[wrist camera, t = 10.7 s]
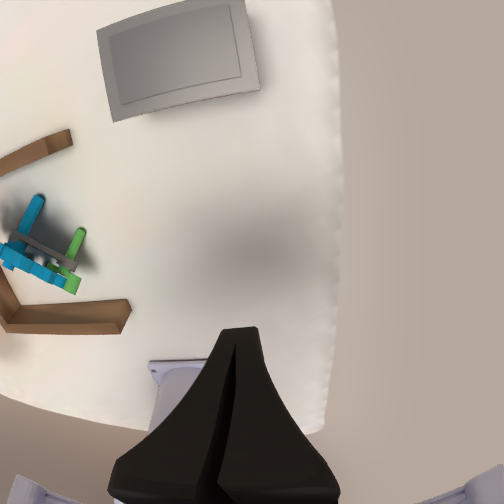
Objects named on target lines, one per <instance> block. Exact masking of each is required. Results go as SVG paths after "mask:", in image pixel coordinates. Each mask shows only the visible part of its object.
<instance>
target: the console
mask: <svg viewBox="0 0 504 504" xmlns="http://www.w3.org/2000/svg"><path fill="white" fill-rule="evenodd" d="M96 32H97V39H98V46H99V52H100V59H101V65H102V70H103V76H104V81H105V87H106V92H107V97H108V102H109V106H110V111H111V116H112V120H113V123H114V122H117V121H121V120H124V119H128V118H131V117H135V116H139V115H143V114H146V113H150V112H154V111H158V110H161V109H165V108H169V107H174V106H178V105H182V104H186V103H191V102H195V101H200V100H205V99H210V98H215V97H221V96H226V95H232V94H238V93H244V92H251V91H258V90H260V85H259V79H258V73H257V67H256V61H255V55H254V49H253V44H252V38H251V33H250V27H249V22H248V16H247V11H246V6H245V1H244V0H185V1H181V2H178V3H174V4H170V5H167V6H163V7H160V8H156V9H153V10H150V11H147V12H144V13H141V14H138V15H135V16H132V17H129V18H127V19H124V20H121V21H119V22H116V23H114V24H111V25H109V26H106V27H104V28H101V29H99V30H97V31H96Z"/></svg>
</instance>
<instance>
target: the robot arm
mask: <svg viewBox="0 0 504 504" xmlns="http://www.w3.org/2000/svg"><path fill="white" fill-rule="evenodd" d="M147 367H148V369H149V371H150V372H151V374H152V376H153V377H154V379H155V381H156V382H157V384H158V386H159V387H160V388H159V391H158V395H157V399H156V403H155V407H154V410H153V414H152V418H151V422H150V426H149V430H148V435H147V437H145V438H144V439H143V440H142V441H141V442H140V443H139V444H137V445H136V446H135V447H133V448H132V449H131V450H129V451H128V452H127V453H125V454H124V455H123V456H121V457H120V458H118V459H117V460H116V463H115V465H114V467H113V470H112V473H111V477H110V481H109V486H108V489H107V491H108V492H109V494H110V495H111V496H112V497H114V498H115V499H114V504H338V498H339V496H340V487H339V485H338V482H337V480H336V479H335V476H334V475H333V473H332V471H331V470H330V468H329V467H328V465H327V462H326V461H325V460H324V458H323V457H322V456H321V455H320V454H319V453H318V452H317V450H316V449H315V448H314V447H313V446H312V444H311V443H310V442H309V441H308V439H307V438H306V437H305V435H304V434H303V433H302V431H301V430H300V428H299V427H298V425H297V424H296V423H295V421H294V420H293V418H292V417H291V415H290V414H289V412H288V410H287V409H286V407H285V405H284V404H283V402H282V400H281V398H280V396H279V394H278V392H277V390H276V388H275V386H274V384H273V382H272V380H271V378H270V375H269V373H268V371H267V368H266V365H265V362H264V356H263V352H262V347H261V342H260V337H259V332H258V328H256V327H255V326H253V327H243V328H232V329H223V330H222V331H221V333H220V335H219V337H218V340H217V342H216V344H215V346H214V348H213V350H212V352H211V354H210V356H209V357H208V359H207V360H202V361H176V362H149V363H148V366H147ZM7 504H84V503H81V502H78V501H75V500H72V499H69V498H66V497H64V496H61V495H58V494H56V493H53V492H50V491H48V490H46V489H45V488H44V487H43V486H41V485H39V484H38V483H36V482H34V481H32V480H30V479H28V478H25V477H23V476H21V475H19V474H17V475H16V477H15V480H14V483H13V486H12V489H11V491H10V495H9V498H8V501H7ZM417 504H504V467H503V465H502V464H499V465H497V466H495V467H493V468H491V469H489V470H487V471H485V472H483V473H481V474H479V475H477V476H476V477H474V478H472V479H470V480H469V481H468V482H467V483H465V485H464V486H461V487H459V488H457V489H454V490H452V491H450V492H447V493H445V494H442V495H439V496H436V497H434V498H431V499H428V500H425V501H423V502H419V503H417Z"/></svg>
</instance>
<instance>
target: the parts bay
mask: <svg viewBox="0 0 504 504" xmlns="http://www.w3.org/2000/svg"><path fill="white" fill-rule="evenodd" d="M71 145H73V144H72V140H71V136H70V132H69V129H67V130H64V131H61V132H58V133H55V134H52V135H49V136H46V137H44V138H41V139H39V140H37V141H35V142H33V143H31V144H29V145H27V146H25V147H23V148H21V149H19V150H17V151H15V152H13V153H11V154H9V155H7V156H5V157H3V158H1V159H0V177H1V176H3V175H5V174H7V173H9V172H11V171H14V170H16V169H18V168H20V167H22V166H25V165H27V164H29V163H31V162H34V161H36V160H38V159H41V158H43V157H46V156H48V155H50V154H53V153H55V152H57V151H59V150H62V149H64V148H66V147H69V146H71ZM131 311H132V309H131V307H130V305H129V303H128V301H127V299H120V300H107V301H94V302H79V303H64V304H47V305H29V306H20V304H19V302H18V300H17V298H16V297H15V295H14V293H13V291H12V289H11V287H10V285H9V283H8V281H7V279H6V277H5V275H4V273H3V271H2V269H1V267H0V324H1V325H2V327H3V328H4V330H5V332H6V333H22V334H55V335H109V334H121V332H122V330H123V328H124V326H125V323H126V321H127V319H128V317H129V315H130V313H131Z"/></svg>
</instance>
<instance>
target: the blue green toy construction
mask: <svg viewBox="0 0 504 504" xmlns="http://www.w3.org/2000/svg"><path fill="white" fill-rule="evenodd" d="M43 203H44V200H43V199H42V198H41V197H39V196H37V195H34V197H33V199H32V200H31V202H30V204H29V206H28V208H27V210H26V212H25V214H24V216H23V218H22V221H21V223H20V225H19V227H18V229H17V231H16V230H14V229H13V231H12V234H11V236H10V238H9V240H8V243H6V242H5V244H2V243H0V258H1V259H2V260H4V262H3V266H4V267H6V268H8V269H9V270H12V271H13V269H14V267H17V268H19V269H21V270H23V271H25V272H27V273H29V274H30V273H31V274H33V275H35V276H36V277H38V278H40V279H42V280H43V281H45V282H47V283H50V284H52V285H53V284H54V285H56V286H58V287H60V288H62V289H64V290H65V291H67V292H69V293H72V294H74V295H75V294H76V292H77V289H78V287H79V284H80V282H81V279H82V278H80V277H78V276H76V275H74V274H72V273H70V272H71V271H73V272H75V270H76V268H77V265H78V263H76V262H75V261H73V260H74V258H75V256H76V253H77V251H78V249H79V246H80V244H81V242H82V240H83V238H84V235H85V233H86V232H84V231H83V230H81V229H77V231H76V233H75V235H74V238H73V240H72V242H71V244H70V246H69V249H68V251H67V253H66V255H65V256H63V255H61V254H59V253H57V252H55V251H53V250H51V249H50V248H48V247H46V246H44V245H42V244H40V243H38V242H36V241H35V240H33V239H31V238H29V237H27V236H28V234H29V232H30V229H31V227H32V225H33V223H34V221H35V219H36V217H37V215H38V213H39V211H40V209H41V207H42V205H43ZM28 244H29V245H31V246H32V247H34V248H36V249H38V250H40V251H42V252H43V253H45V254H47V255H49V256H51V257H53V258H55V259H57V262H56V263H57V264H59V267H57V266H55V265H53V264H51V263H49V262H48V264H47V266H46V268H45V267H44V266H42V265H40V264H38V263H36V262H34V261H32V260H31V259H29V258H27V257H25V256H26V254H25V253H24V252H25V250H26V247H27V245H28ZM57 273H59V274H61V275H63V276H65V277H67V278H65V277H63V276H61V275H59V274H57Z"/></svg>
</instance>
